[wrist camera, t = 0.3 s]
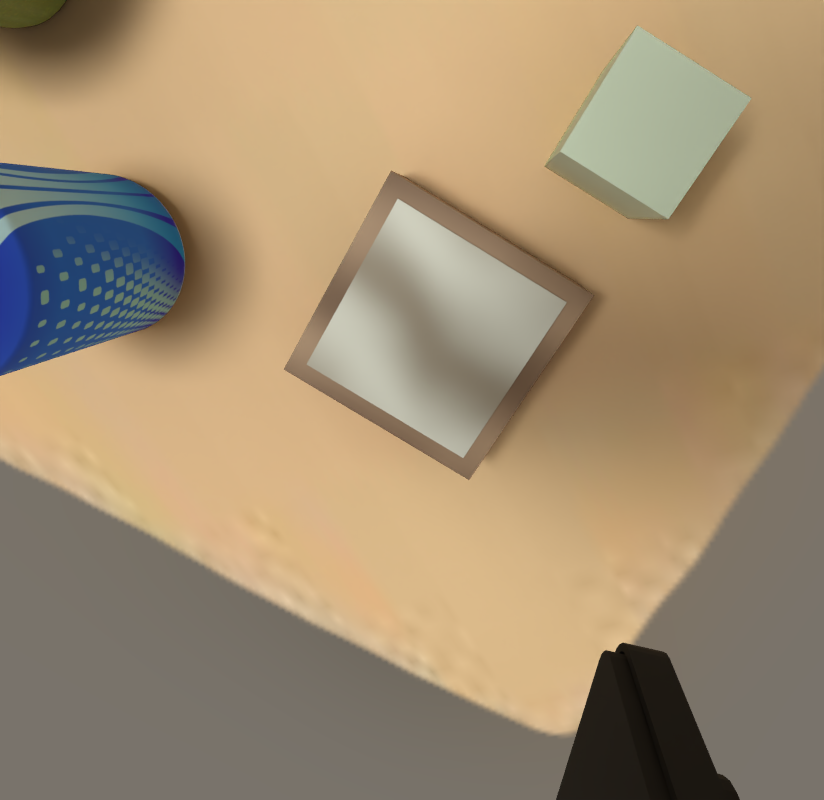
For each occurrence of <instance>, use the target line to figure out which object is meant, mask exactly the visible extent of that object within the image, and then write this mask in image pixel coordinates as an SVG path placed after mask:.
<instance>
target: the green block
mask: <svg viewBox="0 0 824 800" xmlns="http://www.w3.org/2000/svg"><path fill="white" fill-rule="evenodd" d="M750 100H751V98H750V97H749V96H747V95H746V94H744V93H743V92H741V91H739V90H738V89H736V88H735V87H733V86H732V85H730V84H728V83H727V82H725V81H724V80H722V79H721V78H719V77H717V76H716V75H714V74H713V73H711V72H710V71H708V70H707V69H705V68H703V67H702V66H700V65H699V64H697V63H696V62H694V61H692V60H691V59H689V58H688V57H686V56H685V55H683V54H681V53H680V52H678V51H677V50H675V49H674V48H672V47H670V46H669V45H667V44H666V43H664V42H663V41H661V40H659V39H658V38H656V37H655V36H653V35H652V34H650V33H648V32H647V31H645V30H644V29H642V28H641V27H639V26H638V25H637V27H636V28H635V29H634V31H633V32H632V33H631V35H630V36H629V37H628V38H627V40H626V41H625V42H624V44H623V45H622V46H621V48H620V49H619V50H618V52H617V53H616V54H615V55H614V57H613V58H612V59H611V61H610V62H609V63H608V65H607V66H606V67H605V68H604V70H603V71H602V73H601V74H600V76H599V78H598V79H597V81H596V82H595V84H594V86H593V87H592V89H591V91H590V92H589V94H588V96H587V97H586V99H585V100H584V102H583V104H582V105H581V107H580V109H579V110H578V112H577V114H576V115H575V117H574V118H573V120H572V122H571V123H570V125H569V127H568V128H567V130H566V132H565V133H564V135H563V136H562V138H561V140H560V141H559V143H558V145H557V146H556V148H555V149H554V151H553V153H552V154H551V156H550V158H549V159H548V161H547V163H546V164H545V167H546V168H548V169H549V170H551V171H553V172H554V173H556V174H558V175H559V176H561V177H562V178H564V179H566V180H567V181H569V182H570V183H572V184H574V185H575V186H577V187H578V188H580V189H582V190H583V191H585V192H586V193H588V194H590V195H591V196H593V197H594V198H596V199H598V200H599V201H601V202H602V203H604V204H606V205H607V206H609V207H610V208H612V209H614V210H615V211H617V212H618V213H620V214H622V215H623V216H625V217H626V218H631V219H669V217H670V216H671V215H672V213H673V212H674V210H675V209H676V207H677V206H678V204H679V203H680V201H681V200H682V199H683V197H684V196H685V194H686V193H687V191H688V190H689V188H690V187H691V186H692V184H693V183H694V181H695V180H696V178H697V177H698V175H699V174H700V172H701V171H702V170H703V168H704V167H705V165H706V164H707V162H708V161H709V159H710V158H711V156H712V155H713V154H714V152H715V151H716V149H717V148H718V146H719V145H720V143H721V142H722V140H723V139H724V138H725V136H726V135H727V133H728V132H729V130H730V129H731V127H732V126H733V124H734V123H735V122H736V120H737V119H738V117H739V116H740V114H741V113H742V111H743V110H744V108H745V107H746V106H747V104H748V103H749V101H750Z"/></svg>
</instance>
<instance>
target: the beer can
mask: <svg viewBox="0 0 824 800" xmlns="http://www.w3.org/2000/svg"><path fill="white" fill-rule="evenodd" d="M184 275H185V253H184V247H183V242H182V239H181V236H180V233H179V230H178V228H177V226H176V224H175V222H174V220H173V218H172V217H171V215H170V213H169V212H168V211H167V209H166V208H165V207H164V205H163V204H162V203H161V202H160V201H159V200H158V199H157V198H156V197H155V196H154V195H153V194H152V193H150V192H149V191H148V190H147V189H145V188H143V187H142V186H140V185H139V184H137V183H135V182H133V181H131V180H128V179H126V178H123V177H119V176H115V175H110V174H100V173H91V172H82V171H73V170H63V169H54V168H45V167H35V166H26V165H17V164H7V163H0V376H1V375H4V374H7V373H10V372H14V371H17V370H20V369H23V368H26V367H29V366H32V365H35V364H38V363H41V362H44V361H47V360H50V359H53V358H56V357H59V356H63V355H66V354H69V353H72V352H75V351H78V350H81V349H84V348H87V347H90V346H93V345H96V344H99V343H102V342H105V341H108V340H112V339H115V338H118V337H121V336H124V335H127V334H130V333H133V332H136V331H139V330H142V329H145V328H147V327H149V326H151V325H153V324H154V323H156V322H157V321H159V320H160V319H161V318H162V317H164V316H165V315H166V314H167V313H168V311H169V310H170V309H171V308H172V306H173V305H174V303H175V302H176V300H177V298H178V296H179V294H180V291H181V288H182V285H183V281H184Z"/></svg>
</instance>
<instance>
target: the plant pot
mask: <svg viewBox="0 0 824 800" xmlns="http://www.w3.org/2000/svg"><path fill="white" fill-rule="evenodd" d="M65 2H66V0H0V27H6V28H21V27H29V26H34V25H38V24H40V23H43V22H45V21H46V20H48V19H50V18H51V17H52V16H53V15H54V14H55V13H56V12H57V11H59V9H60V8H61V7H62V6H63V4H64V3H65Z"/></svg>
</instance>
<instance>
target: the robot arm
mask: <svg viewBox="0 0 824 800" xmlns="http://www.w3.org/2000/svg"><path fill="white" fill-rule="evenodd" d="M556 800H740V799H739V797H738V794H737V792H736V790H735V789H734V787H733V785H732V784H731V782H730V780H728V779H727V778H726V777H724V776H723V775H720V774H717V772H716V769H715V767H714V765H713V762H712V760H711V757H710V755H709V753H708V750H707V748H706V745H705V743H704V740H703V738H702V736H701V733H700V731H699V729H698V726H697V724H696V721H695V719H694V716H693V714H692V711H691V709H690V707H689V704H688V702H687V699H686V697H685V695H684V692H683V690H682V687H681V685H680V683H679V680H678V678H677V675H676V673H675V670H674V668H673V666H672V663H671V661H670V658H669V657H668V655H667V654H666V653H664V652H662V651H658V650H653V649H649V648H644V647H640V646H636V645H631V644H627V643H621V644H620V645H619V646H618V647H617V649H616V651H615V652H611V651H607V650H606V651H604V652H603V653H602V655H601V657H600V660H599V663H598V666H597V669H596V672H595V676H594V679H593V682H592V685H591V689H590V692H589V695H588V698H587V702H586V705H585V708H584V711H583V714H582V718H581V721H580V724H579V727H578V731H577V734H576V737H575V741H574V744H573V747H572V750H571V754H570V756H569V760H568V763H567V766H566V770H565V773H564V776H563V779H562V782H561V786H560V789H559V792H558V795H557V798H556Z"/></svg>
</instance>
